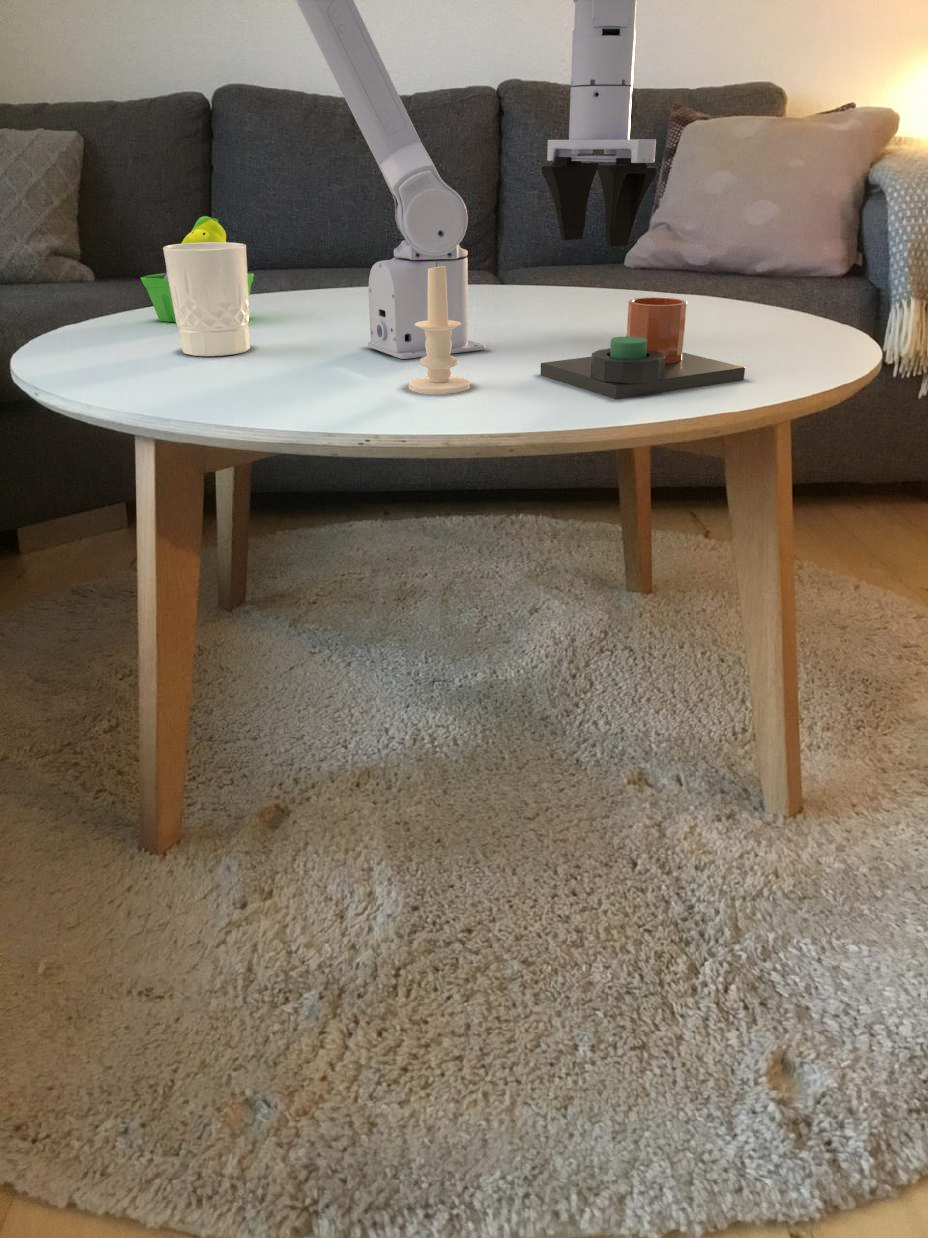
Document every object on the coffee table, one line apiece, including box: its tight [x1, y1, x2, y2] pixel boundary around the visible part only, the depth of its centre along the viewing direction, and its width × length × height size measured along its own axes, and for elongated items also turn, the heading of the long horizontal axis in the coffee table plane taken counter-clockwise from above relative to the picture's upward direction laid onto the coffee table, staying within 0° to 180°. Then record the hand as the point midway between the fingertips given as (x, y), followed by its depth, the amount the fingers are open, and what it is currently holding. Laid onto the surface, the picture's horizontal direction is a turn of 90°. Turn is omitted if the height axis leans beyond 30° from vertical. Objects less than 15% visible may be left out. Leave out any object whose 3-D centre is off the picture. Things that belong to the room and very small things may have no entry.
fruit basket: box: [140, 215, 255, 323], centre depth 118 cm, size 11×9×11 cm
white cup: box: [162, 241, 251, 357], centre depth 100 cm, size 8×8×10 cm
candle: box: [408, 260, 471, 395], centre depth 84 cm, size 5×5×10 cm
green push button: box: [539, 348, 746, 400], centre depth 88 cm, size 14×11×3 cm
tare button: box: [609, 335, 648, 359], centre depth 83 cm, size 3×3×2 cm
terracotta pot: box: [626, 296, 688, 364], centre depth 90 cm, size 5×5×5 cm
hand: (594, 242), depth 100 cm, fingers open, 7 cm apart
